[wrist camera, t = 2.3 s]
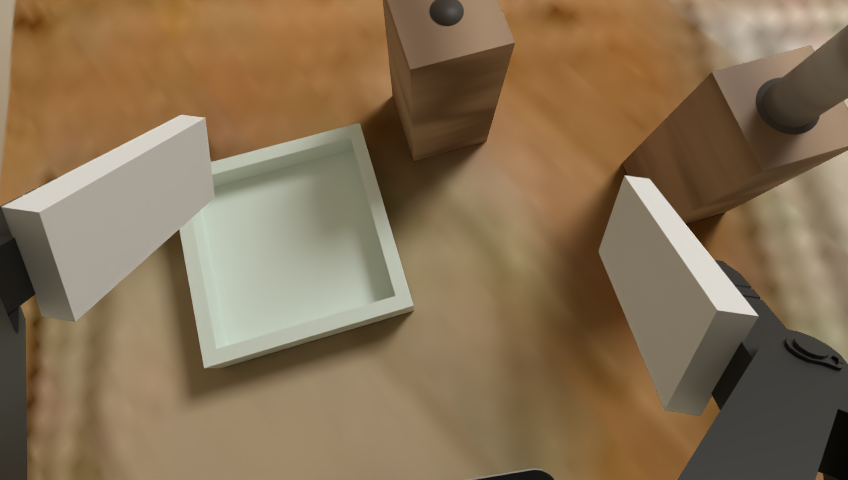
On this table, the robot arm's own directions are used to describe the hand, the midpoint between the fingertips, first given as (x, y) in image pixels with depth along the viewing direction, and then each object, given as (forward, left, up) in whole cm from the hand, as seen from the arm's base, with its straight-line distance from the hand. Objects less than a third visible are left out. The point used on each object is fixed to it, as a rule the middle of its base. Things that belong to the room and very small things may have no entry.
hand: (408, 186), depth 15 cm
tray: (+6, -4, -15) cm, 16 cm away
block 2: (-18, -1, -15) cm, 23 cm away
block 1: (-5, -10, -15) cm, 18 cm away
